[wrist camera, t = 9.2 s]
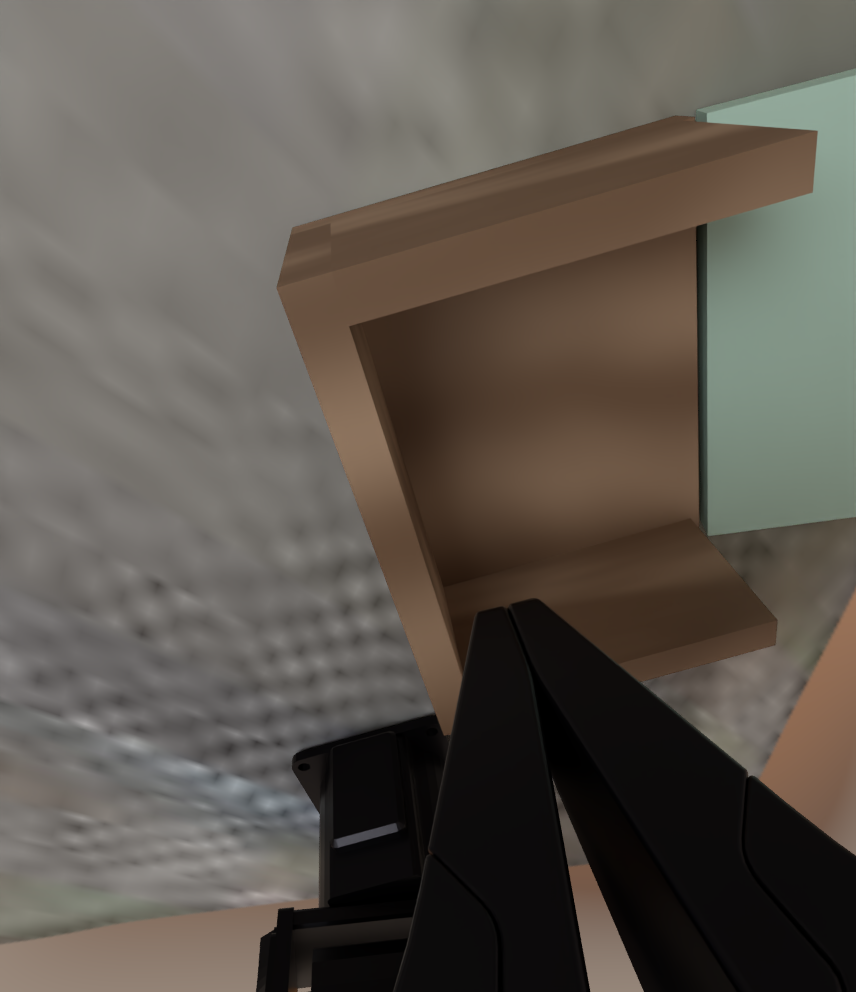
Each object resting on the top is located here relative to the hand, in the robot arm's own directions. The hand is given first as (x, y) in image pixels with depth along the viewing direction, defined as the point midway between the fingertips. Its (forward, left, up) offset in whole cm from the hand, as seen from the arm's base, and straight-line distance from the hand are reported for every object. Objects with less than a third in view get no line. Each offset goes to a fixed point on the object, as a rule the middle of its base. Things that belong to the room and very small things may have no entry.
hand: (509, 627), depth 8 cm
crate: (-3, -3, -12) cm, 12 cm away
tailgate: (-3, -8, -11) cm, 14 cm away
